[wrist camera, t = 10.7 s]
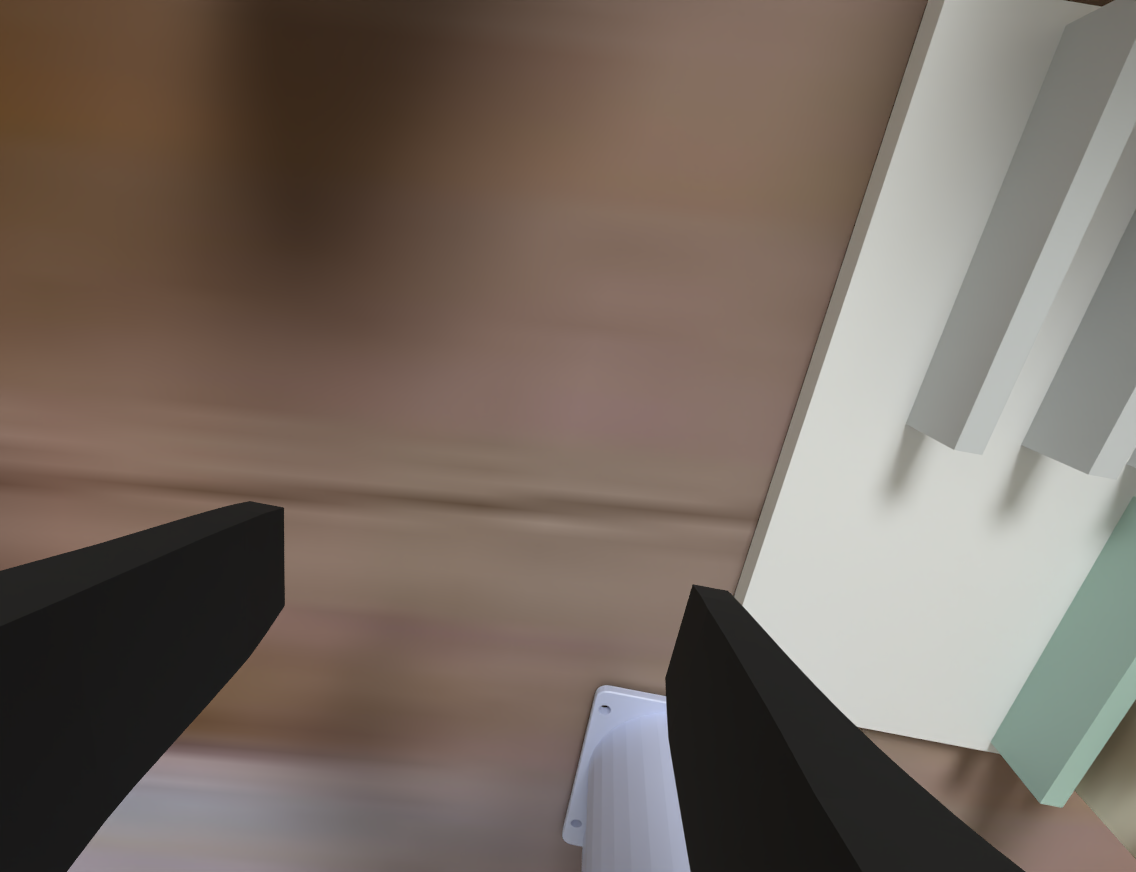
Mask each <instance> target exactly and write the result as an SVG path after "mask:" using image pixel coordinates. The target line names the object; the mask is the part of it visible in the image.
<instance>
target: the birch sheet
mask: <svg viewBox="0 0 1136 872" xmlns="http://www.w3.org/2000/svg"><path fill="white" fill-rule="evenodd" d="M1075 791H1076V792H1077V794H1078V795H1079V796H1080V797H1081V798H1082V799H1083V800H1084V801H1085V803H1086V804H1087V805H1088V806H1089V807H1090V808H1091V809H1092V810H1093V812H1094V813H1095V814H1096V815H1097V816H1098V817H1099V818H1100V820H1101V821H1102V822H1103V823H1104V824H1105V825H1106V826H1107V827H1108V829H1109V830H1110V831H1111V832H1112V833H1113V834H1114V835H1115V836H1116V838H1117V839H1118V840H1119V841H1120V842H1121V843H1122V844H1123V845H1124V847H1125V848H1126V849H1127V850H1128V851H1129V852H1130V853H1131V854H1132V856H1133V857H1134V858H1135V859H1136V700H1135V701H1134V703H1133V704H1132V706H1131V707H1130V709H1129V710H1128V712H1127V713H1126V714H1125V716H1124V717H1123V719H1122V720H1121V722H1120V723H1119V725H1118V726H1117V728H1116V729H1115V731H1114V732H1113V734H1112V735H1111V737H1110V738H1109V740H1108V741H1107V743H1106V744H1105V745H1104V747H1103V748H1102V750H1101V751H1100V753H1099V754H1098V756H1097V757H1096V759H1095V760H1094V762H1093V763H1092V765H1091V766H1090V768H1089V769H1088V771H1087V772H1086V774H1085V775H1084V776H1083V778H1082V779H1081V781H1080V782H1079V784H1078V785H1077V787H1076V788H1075Z"/></svg>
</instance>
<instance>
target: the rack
mask: <svg viewBox="0 0 1136 872" xmlns="http://www.w3.org/2000/svg"><path fill="white" fill-rule="evenodd" d="M734 597H735V599H736V600H737V601H738V602H739V603H740V604H741V605H742V606H743V607H744V608H745V609H746V610H747V611H748V612H749V614H750V615H751V616H752V617H753V618H754V619H755V620H756V621H757V622H758V623H759V625H760V626H761V627H762V628H763V629H764V630H765V631H766V632H767V633H768V635H769V636H770V637H771V638H772V639H773V640H774V641H775V642H776V643H777V645H778V646H779V647H780V648H781V649H782V650H783V651H784V652H785V653H786V654H787V655H788V657H789V658H790V659H791V660H792V661H793V662H794V663H795V664H796V665H797V666H798V667H799V668H800V669H801V671H802V672H803V673H804V674H805V675H806V676H807V677H808V678H809V679H810V680H811V681H812V682H813V683H814V684H815V685H816V686H817V687H818V688H819V690H820V691H821V692H822V693H823V694H824V695H825V696H826V697H827V698H828V699H829V700H830V701H831V702H832V703H833V704H834V705H835V706H836V707H837V708H838V709H839V710H840V711H841V712H842V713H843V714H844V715H845V716H846V717H847V718H848V719H849V720H850V721H851V722H852V723H853V724H855V725H856V726H857V727H861V728H866V729H871V730H877V731H882V732H887V733H892V734H898V735H903V736H908V737H913V738H919V739H924V740H929V741H935V742H940V743H945V744H950V745H956V746H961V747H966V748H971V749H977V750H982V751H987V752H992V753H998V754H1001V756H1002V757H1003V758H1004V759H1005V761H1006V762H1007V763H1008V764H1009V766H1010V767H1011V768H1012V769H1013V771H1014V772H1015V773H1016V774H1017V775H1018V777H1019V778H1020V779H1021V780H1022V782H1023V783H1024V784H1025V785H1026V787H1027V788H1028V789H1029V790H1030V792H1031V793H1032V794H1033V795H1034V797H1035V798H1036V799H1037V800H1038V802H1039V803H1040V804H1045V805H1051V806H1056V807H1061V808H1062V807H1063V806H1064V805H1065V803H1066V802H1067V800H1068V799H1069V797H1070V796H1071V794H1072V793H1073V791H1074V790H1075V788H1076V787H1077V785H1078V784H1079V782H1080V781H1081V779H1082V778H1083V776H1084V775H1085V774H1086V772H1087V771H1088V769H1089V768H1090V766H1091V765H1092V763H1093V762H1094V760H1095V759H1096V757H1097V756H1098V754H1099V753H1100V751H1101V750H1102V748H1103V747H1104V745H1105V744H1106V743H1107V741H1108V740H1109V738H1110V737H1111V735H1112V734H1113V732H1114V731H1115V729H1116V728H1117V726H1118V725H1119V723H1120V722H1121V720H1122V719H1123V717H1124V716H1125V714H1126V713H1127V712H1128V710H1129V709H1130V707H1131V706H1132V704H1133V703H1134V701H1135V700H1136V0H1114V1H1112V2H1110V3H1108V4H1106V5H1104V6H1103V7H1100V6H1095V5H1089V4H1083V3H1077V2H1071V1H1066V0H928V3H927V6H926V9H925V12H924V15H923V18H922V21H921V24H920V27H919V30H918V33H917V36H916V39H915V42H914V46H913V49H912V52H911V55H910V58H909V61H908V64H907V67H906V70H905V73H904V76H903V79H902V82H901V85H900V88H899V92H898V95H897V98H896V101H895V104H894V107H893V110H892V113H891V116H890V119H889V122H888V125H887V128H886V131H885V134H884V138H883V141H882V144H881V147H880V150H879V153H878V156H877V159H876V162H875V165H874V168H873V171H872V174H871V177H870V181H869V184H868V187H867V190H866V193H865V196H864V199H863V202H862V205H861V208H860V211H859V214H858V217H857V220H856V223H855V227H854V230H853V233H852V236H851V239H850V242H849V245H848V248H847V251H846V254H845V257H844V260H843V263H842V266H841V269H840V273H839V276H838V279H837V282H836V285H835V288H834V291H833V294H832V297H831V300H830V303H829V306H828V309H827V312H826V316H825V319H824V322H823V325H822V328H821V331H820V334H819V337H818V340H817V343H816V346H815V349H814V352H813V355H812V358H811V362H810V365H809V368H808V371H807V374H806V377H805V380H804V383H803V386H802V389H801V392H800V395H799V398H798V401H797V404H796V408H795V411H794V414H793V417H792V420H791V423H790V426H789V429H788V432H787V435H786V438H785V441H784V444H783V447H782V451H781V454H780V457H779V460H778V463H777V466H776V469H775V472H774V475H773V478H772V481H771V484H770V487H769V490H768V493H767V497H766V500H765V503H764V506H763V509H762V512H761V515H760V518H759V521H758V524H757V527H756V530H755V533H754V536H753V539H752V543H751V546H750V549H749V552H748V555H747V558H746V561H745V564H744V567H743V570H742V573H741V576H740V579H739V582H738V586H737V589H736V592H735V595H734Z"/></svg>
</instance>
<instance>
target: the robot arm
mask: <svg viewBox="0 0 1136 872" xmlns="http://www.w3.org/2000/svg"><path fill="white" fill-rule="evenodd" d="M284 606H285V586H284V508H283V507H277V506H272V505H267V504H261V503H256V502H251V501H249V502H244V503H239V504H234V505H230V506H226V507H222V508H218V509H214V510H211V511H207V512H204V513H200V514H197V515H193V516H190V517H187V518H183V519H180V520H177V521H173V522H170V523H167V524H163V525H160V526H157V527H153V528H150V529H147V530H143V531H140V532H137V533H133V534H130V535H127V536H123V537H120V538H117V539H113V540H110V541H107V542H103V543H100V544H96V545H93V546H89V547H86V548H82V549H78V550H75V551H71V552H67V553H64V554H60V555H57V556H53V557H49V558H46V559H42V560H38V561H35V562H31V563H28V564H24V565H20V566H17V567H13V568H9V569H6V570H2V571H0V872H67V871H68V869H69V868H70V867H71V865H72V864H73V863H74V861H75V860H76V859H77V858H78V856H79V855H80V854H81V852H82V851H83V850H84V848H85V847H86V846H87V844H88V843H89V842H90V840H91V839H92V838H93V837H94V835H95V834H96V833H97V831H98V830H99V829H100V827H101V826H102V825H103V823H104V822H105V821H106V820H107V818H108V817H109V816H110V815H111V814H112V812H113V811H114V810H115V809H116V808H117V806H118V805H119V804H120V803H121V802H122V801H123V799H124V798H125V797H126V796H127V795H128V793H129V792H130V791H131V790H132V789H133V787H134V786H135V785H136V784H137V783H138V782H139V781H140V780H141V778H142V777H143V776H144V775H145V774H146V773H147V772H148V771H149V769H150V768H151V767H152V766H153V765H154V764H155V763H156V762H157V761H158V759H159V758H160V757H161V756H162V755H163V754H164V753H165V752H166V751H167V749H168V748H169V747H170V746H171V745H172V744H173V743H174V742H175V740H176V739H177V738H178V737H179V736H180V735H181V734H182V733H183V732H184V730H185V729H186V728H187V727H188V726H189V725H190V724H191V723H192V722H193V720H194V719H195V718H196V717H197V716H198V715H199V714H200V713H201V711H202V710H203V709H204V708H205V707H206V706H207V705H208V704H209V703H210V701H211V700H212V699H213V698H214V697H215V696H216V695H217V694H218V692H219V691H220V690H221V689H222V688H223V687H224V686H225V684H226V683H227V682H228V681H229V680H230V679H231V678H232V677H233V675H234V674H235V673H236V672H237V671H238V670H239V669H240V667H241V666H242V665H243V664H244V663H245V662H246V660H247V659H248V658H249V657H250V655H251V654H252V653H253V651H254V650H255V648H256V647H257V646H258V644H259V643H260V641H261V640H262V639H263V637H264V636H265V634H266V633H267V631H268V630H269V628H270V627H271V625H272V624H273V622H274V621H275V619H276V618H277V616H278V615H279V613H280V612H281V610H282V609H283V607H284ZM665 680H666V696H662V695H657V694H651V693H646V692H641V691H636V690H630V689H625V688H620V687H615V686H609V685H604V686H601V687H599V688H598V689H597V690H596V692H595V696H594V700H593V705H592V709H591V713H590V717H589V721H588V725H587V730H586V734H585V738H584V742H583V746H582V750H581V755H580V759H579V763H578V767H577V771H576V775H575V780H574V784H573V788H572V792H571V796H570V800H569V805H568V809H567V813H566V817H565V821H564V825H563V832H562V838H563V840H564V841H565V842H566V843H568V844H571V845H576V846H581V847H583V848H582V872H1025V871H1024V870H1022V869H1021V868H1020V867H1019V866H1017V865H1016V864H1015V863H1013V862H1012V861H1011V860H1010V859H1008V858H1007V857H1006V856H1004V855H1003V854H1002V853H1001V852H999V851H998V850H997V849H995V848H994V847H993V846H992V845H991V844H989V843H988V842H987V841H986V840H984V839H983V838H982V837H981V836H980V835H978V834H977V833H976V832H975V831H973V830H972V829H971V828H970V827H969V826H967V825H966V824H965V823H964V822H962V821H961V820H960V819H959V818H958V817H956V816H955V815H954V814H953V813H952V812H951V811H949V810H948V809H947V808H946V807H945V806H944V805H943V804H941V803H940V802H939V801H938V800H937V799H936V798H934V797H933V796H932V795H931V794H930V793H929V792H928V791H926V790H925V789H924V788H923V787H922V786H921V785H919V784H918V783H917V782H916V781H915V780H914V779H913V778H911V777H910V776H909V775H908V774H907V773H906V772H905V771H903V770H902V769H901V768H900V767H899V766H898V765H897V764H896V763H895V762H893V761H892V760H891V759H890V758H889V757H888V756H887V755H886V754H885V753H884V752H883V751H881V750H880V749H879V748H878V747H877V746H876V745H875V744H874V743H873V742H872V741H871V740H870V739H869V738H868V737H867V736H866V735H865V734H864V733H863V732H862V731H861V730H860V729H859V728H858V727H857V726H856V725H855V724H853V723H852V722H851V721H850V720H849V719H848V718H847V717H846V716H845V715H844V714H843V713H842V712H841V711H840V710H839V709H838V708H837V707H836V706H835V705H834V704H833V703H832V702H831V701H830V700H829V699H828V698H827V697H826V696H825V695H824V694H823V693H822V692H821V691H820V690H819V688H818V687H817V686H816V685H815V684H814V683H813V682H812V681H811V680H810V679H809V678H808V677H807V676H806V675H805V674H804V673H803V672H802V671H801V669H800V668H799V667H798V666H797V665H796V664H795V663H794V662H793V661H792V660H791V659H790V658H789V657H788V655H787V654H786V653H785V652H784V651H783V650H782V649H781V648H780V647H779V646H778V645H777V643H776V642H775V641H774V640H773V639H772V638H771V637H770V636H769V635H768V633H767V632H766V631H765V630H764V629H763V628H762V627H761V626H760V625H759V623H758V622H757V621H756V620H755V619H754V618H753V617H752V616H751V615H750V614H749V612H748V611H747V610H746V609H745V608H744V607H743V606H742V605H741V604H740V603H739V602H738V601H737V600H736V599H735V597H733V596H732V595H731V594H730V593H729V592H728V591H725V590H720V589H714V588H709V587H704V586H698V585H692V589H691V592H690V596H689V599H688V602H687V606H686V609H685V613H684V616H683V620H682V623H681V626H680V630H679V633H678V637H677V640H676V643H675V647H674V650H673V654H672V657H671V661H670V664H669V667H668V671H667V674H666V678H665ZM602 705H607V706H608V707H602Z"/></svg>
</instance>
